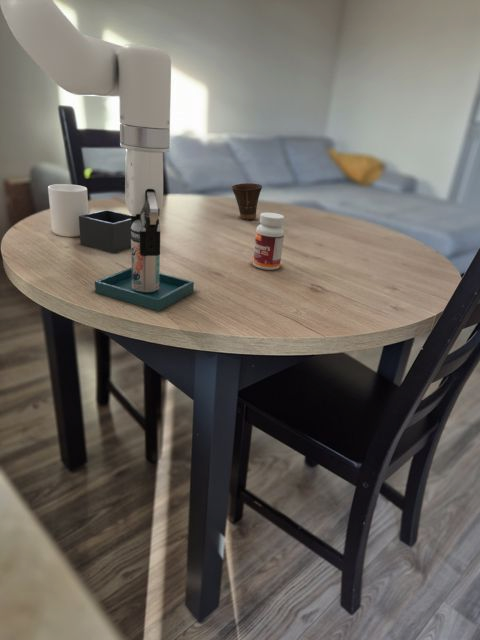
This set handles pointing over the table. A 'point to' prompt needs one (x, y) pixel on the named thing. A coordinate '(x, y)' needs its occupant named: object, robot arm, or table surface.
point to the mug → (67, 208)
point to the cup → (247, 199)
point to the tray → (157, 300)
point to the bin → (106, 230)
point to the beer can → (143, 264)
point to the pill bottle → (269, 241)
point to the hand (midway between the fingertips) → (145, 246)
